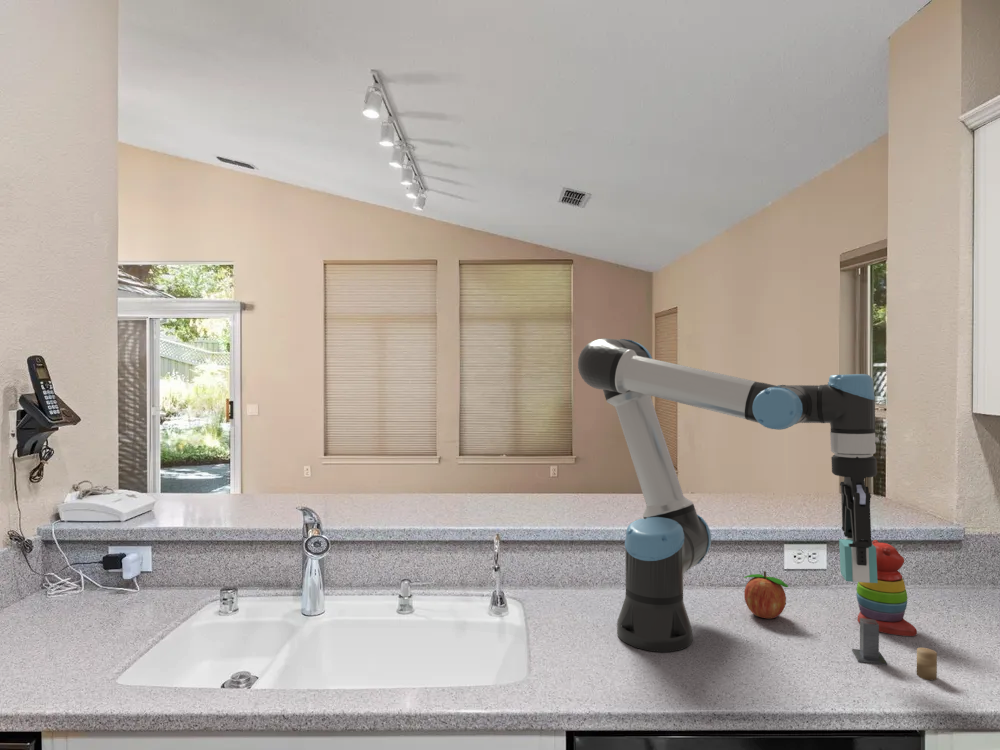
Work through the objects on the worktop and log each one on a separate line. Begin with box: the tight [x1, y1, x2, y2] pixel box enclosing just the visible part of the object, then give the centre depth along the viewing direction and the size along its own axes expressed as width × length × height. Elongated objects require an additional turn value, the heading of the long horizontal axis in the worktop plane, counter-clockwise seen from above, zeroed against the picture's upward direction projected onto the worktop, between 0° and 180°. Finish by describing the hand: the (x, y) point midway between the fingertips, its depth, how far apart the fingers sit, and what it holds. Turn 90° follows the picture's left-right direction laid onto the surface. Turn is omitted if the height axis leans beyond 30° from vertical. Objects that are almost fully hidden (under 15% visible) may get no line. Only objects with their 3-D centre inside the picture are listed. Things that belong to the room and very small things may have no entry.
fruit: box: [743, 570, 789, 619], centre depth 140 cm, size 9×10×10 cm
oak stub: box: [916, 647, 938, 681], centre depth 113 cm, size 3×3×4 cm
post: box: [851, 618, 888, 666], centre depth 120 cm, size 5×5×7 cm
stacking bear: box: [856, 539, 918, 637], centre depth 135 cm, size 11×10×18 cm
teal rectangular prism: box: [838, 538, 878, 583], centre depth 119 cm, size 5×5×7 cm
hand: (857, 576), depth 119 cm, fingers closed on teal rectangular prism, 5 cm apart
